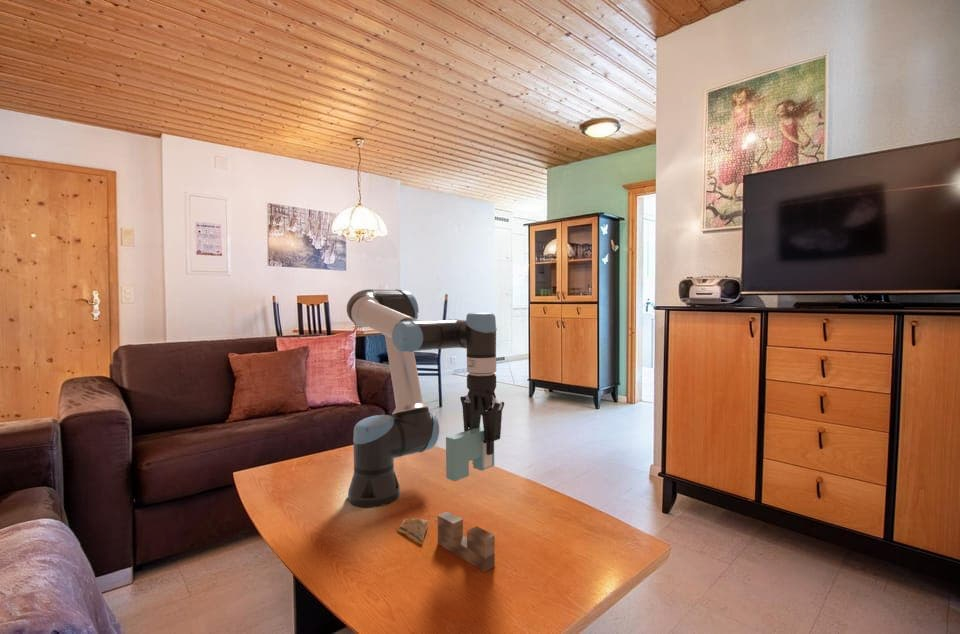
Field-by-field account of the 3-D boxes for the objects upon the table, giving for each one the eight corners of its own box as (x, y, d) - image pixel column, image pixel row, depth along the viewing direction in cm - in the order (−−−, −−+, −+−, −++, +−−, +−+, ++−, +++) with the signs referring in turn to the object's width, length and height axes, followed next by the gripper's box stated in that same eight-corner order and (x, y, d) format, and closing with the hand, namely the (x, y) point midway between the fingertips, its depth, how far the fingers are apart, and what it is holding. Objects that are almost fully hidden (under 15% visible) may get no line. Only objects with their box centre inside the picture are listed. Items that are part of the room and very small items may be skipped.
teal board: (454, 481, 106) (454, 439, 106) (446, 478, 108) (445, 436, 108) (494, 465, 116) (494, 427, 116) (485, 463, 118) (485, 425, 118)
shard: (422, 547, 108) (422, 540, 108) (390, 547, 108) (390, 539, 108) (429, 525, 119) (429, 518, 119) (401, 524, 119) (401, 517, 119)
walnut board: (437, 543, 109) (437, 515, 109) (447, 539, 111) (447, 511, 111) (485, 571, 98) (485, 540, 97) (494, 566, 100) (494, 535, 99)
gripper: (449, 371, 117) (449, 461, 118) (495, 378, 106) (495, 477, 107) (469, 368, 123) (469, 454, 123) (515, 374, 112) (515, 468, 112)
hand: (482, 464), depth 115 cm, fingers closed on teal board, 3 cm apart
